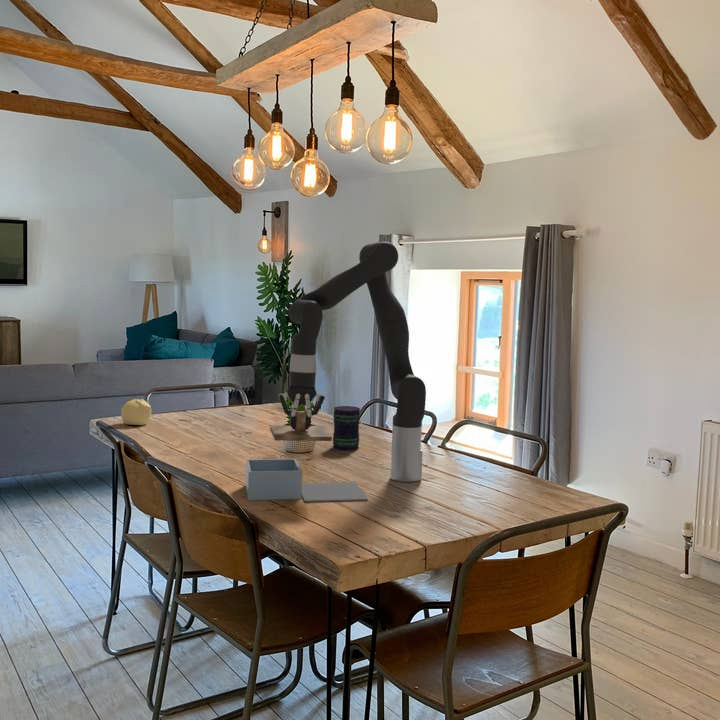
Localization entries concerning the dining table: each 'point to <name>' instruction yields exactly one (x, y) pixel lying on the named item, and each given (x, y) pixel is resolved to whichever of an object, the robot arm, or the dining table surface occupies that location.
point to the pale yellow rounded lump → (136, 412)
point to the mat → (332, 492)
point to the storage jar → (346, 428)
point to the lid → (300, 431)
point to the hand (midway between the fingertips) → (300, 428)
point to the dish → (273, 479)
